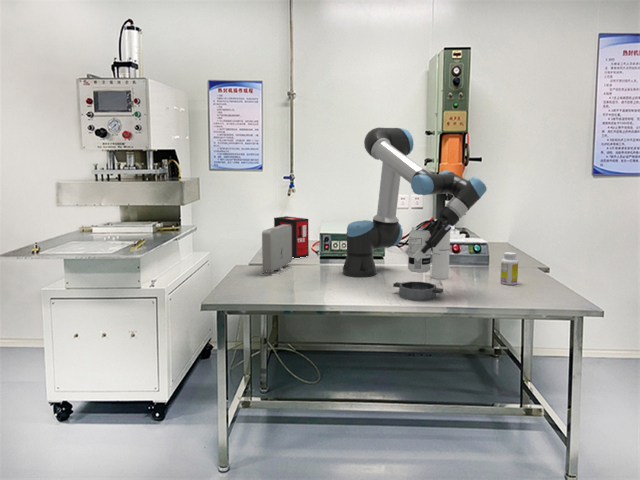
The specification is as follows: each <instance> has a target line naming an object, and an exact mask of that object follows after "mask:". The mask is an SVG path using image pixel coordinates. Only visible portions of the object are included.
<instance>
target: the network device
mask: <svg viewBox="0 0 640 480" xmlns="http://www.w3.org/2000/svg"><path fill="white" fill-rule="evenodd" d="M261 244H262V246H261V247H262V248H261V253H262V257H261V258H262V260H261V261H262V263H261V264H262V272H261V273H262V274H263V273H264V274H263V275H268V274H279V275H281V274H280V273H282V272H284V271H285V272H287V271H289V270H291V269H293V266H292V265H289V264H290V263H292V260H293V259H292V226H291V225H285V224H283V225H280V226H277V227H274V226H273V227H271V228H268V229H264V230H262V233H261ZM282 266H286V267H285V268H284V267H282ZM290 268H291V269H290ZM288 269H289V270H288ZM274 270H278V271H277V272H275V271H274ZM286 270H287V271H286ZM266 271H268V272H266ZM285 272H284V273H285ZM282 274H283V273H282Z"/></svg>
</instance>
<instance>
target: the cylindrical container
mask: <svg viewBox="0 0 640 480" xmlns="http://www.w3.org/2000/svg"><path fill="white" fill-rule="evenodd" d="M434 220H435V221H436V220H437V219H434ZM449 226H450V225H449ZM450 227H451V226H450ZM450 247H451V229H450V230H449V231H448V232H447V233H446V235H445V236H444V237H443V238H442V240H441V241H440V242H439V243H438V244H437V246H436V247H432V253H431V255H432V257H431V260H432V261H431V278H432V279H437V280H447V279H449V276H450V275H449V274H450V271H449V270H450Z"/></svg>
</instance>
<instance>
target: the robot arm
mask: <svg viewBox="0 0 640 480" xmlns="http://www.w3.org/2000/svg"><path fill="white" fill-rule="evenodd" d="M411 134H412V133H411V132H410V131H409V130H407V128H406V129H405V128H400V127H375V128H372V129H371V130H369V131H368V133H366V135H365V137H364V141H363V143H364V144H363V145H364V149H365V152H366V153H367V154H368V155H369V156H370V157H371V158H373V159H374V160H377V161H378V160H380V162H382V164H381V171H380V172H381V174H380V184H379V191H378V200H377V201H378V202H377V210H376V211H377V212H376V215H374V216H373V217H372V218H373V219H372V220H369V219H366V220H363V219H362V220H357V221H353V222H350V223H348V225H347V227H346V257H345V261H344V264H343V266H342V274H343V275H345V276H348V277H355V278H356V277H358V278H365V277H371V276H372V277H373V276H375V275H377V266H376V263H375V260H374V254H373V253H374V251H373V250H375V249H376V250H377V249H388V248H392V247H396V246H397V245H398V244H399V243H400V242H401V241H402V238H403V233H404V232H403V228H402V225H401V224H400V222H399V221H400V220H399V218H398V217H397V210H398V209H397V208H398V202H399V201H398V200H399V199H398V198H399V191H400V186H401V185H400V183H401V177H402V178H403V179H404V180H406V182H408V183H409V184H410V188H411V189H412V193H414V194H415V195H418V196H421V195H422V196H427V195H442V194H443V195H444V194H446V195H447V194H449V195H451V196H452V197H451V199H450V200H449V201H448V202H447V203H445V206H443V207H442V209H440V210H439V211H438V216H439V218H436V219H433V218H432V219H431V221H430V222H429V223H428V224H427V225H426V226H425V227H424V228H423V229H422V230H427V231H430V234H431V237H430V238H429V240H428V241H425V243H424V244H423V245H422V246H421V247H420V248H419V249H418V250H417V252H416V253H415V254H414V255H413V257H414V258H415V259H416V260H417V261H419V260H420V258H421V257H422V256H423V255H424V254H425V253H426V252H427V251H428V250H429V249H430V248H431V249H433V247H436V246H437V244H438V243H439V242H440V241H441V240H442V238H443V237H444V236H445V235H446V233H447V232H448V231H449V230H450V231H451V230H452V227H455V226H456V224H457V223H458V222H459V221H460V219H462V218H463V217H464V216H466V215H467V212H469V210H470V209H471V208H473V206H474V205H475V204H476V203H477V202H478V201H479V200H480V199H482V197H483V195H485V194H486V192H487V190H488V187H487V186H486V184H485V183H484V181H482V180H481V179H480V178H478V177H475V176H473V177H471V178H470V179H468V180H467V179H465V178H463V177H461V176H459V175H458V174H456V173H455V172H454V171H450V170H448V169H447V170H442V171H441V172H439V173H437V174H436V173H435V174H433V173H431V172H429V171H428V170H426V169H424V168H423V167H422V166H420V165H419V164H418V163H416V162H415V161H413V160H412V159H411V158H409V157H408V155H410V154H411V152H412V151H413V150H414V138H413V135H411ZM435 220H436V221H435ZM449 225H450V226H449ZM403 252H404V253H405V254H406V255H407V256H408V247H407V248H406V249H405V250H404V251H403Z"/></svg>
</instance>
